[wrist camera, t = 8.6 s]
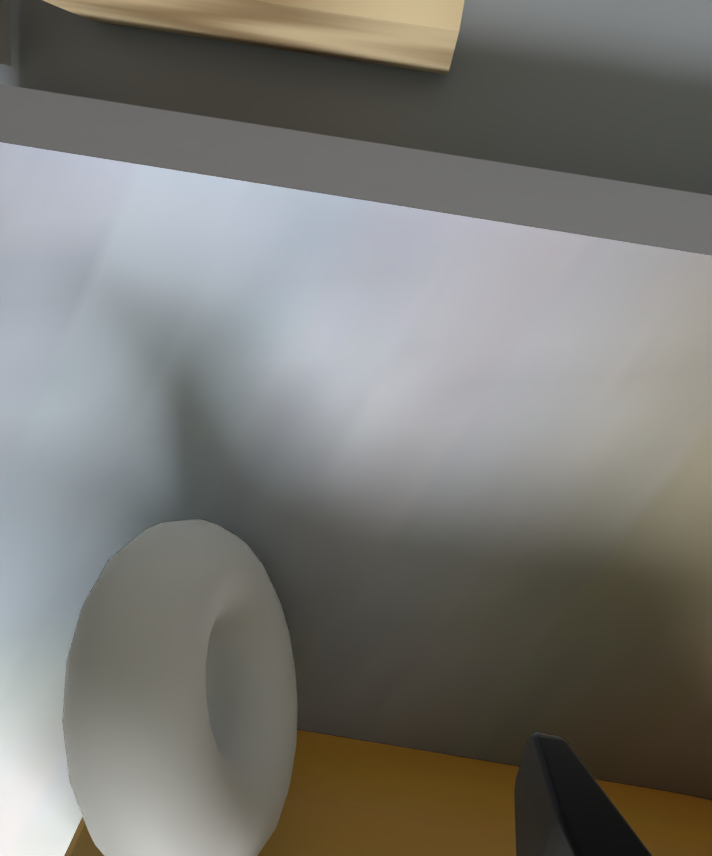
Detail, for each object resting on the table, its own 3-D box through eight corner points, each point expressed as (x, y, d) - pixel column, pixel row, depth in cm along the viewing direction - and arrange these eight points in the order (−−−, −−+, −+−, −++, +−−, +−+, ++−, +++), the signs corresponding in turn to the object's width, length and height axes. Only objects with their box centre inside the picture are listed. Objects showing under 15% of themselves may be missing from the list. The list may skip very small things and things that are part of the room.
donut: (149, 475, 23) (-40, 689, 14) (243, 454, 22) (114, 664, 13) (242, 702, 26) (142, 998, 17) (327, 690, 26) (272, 990, 16)
